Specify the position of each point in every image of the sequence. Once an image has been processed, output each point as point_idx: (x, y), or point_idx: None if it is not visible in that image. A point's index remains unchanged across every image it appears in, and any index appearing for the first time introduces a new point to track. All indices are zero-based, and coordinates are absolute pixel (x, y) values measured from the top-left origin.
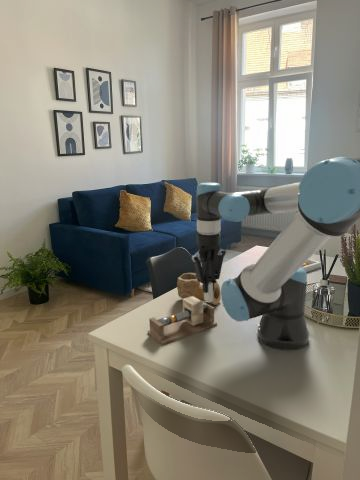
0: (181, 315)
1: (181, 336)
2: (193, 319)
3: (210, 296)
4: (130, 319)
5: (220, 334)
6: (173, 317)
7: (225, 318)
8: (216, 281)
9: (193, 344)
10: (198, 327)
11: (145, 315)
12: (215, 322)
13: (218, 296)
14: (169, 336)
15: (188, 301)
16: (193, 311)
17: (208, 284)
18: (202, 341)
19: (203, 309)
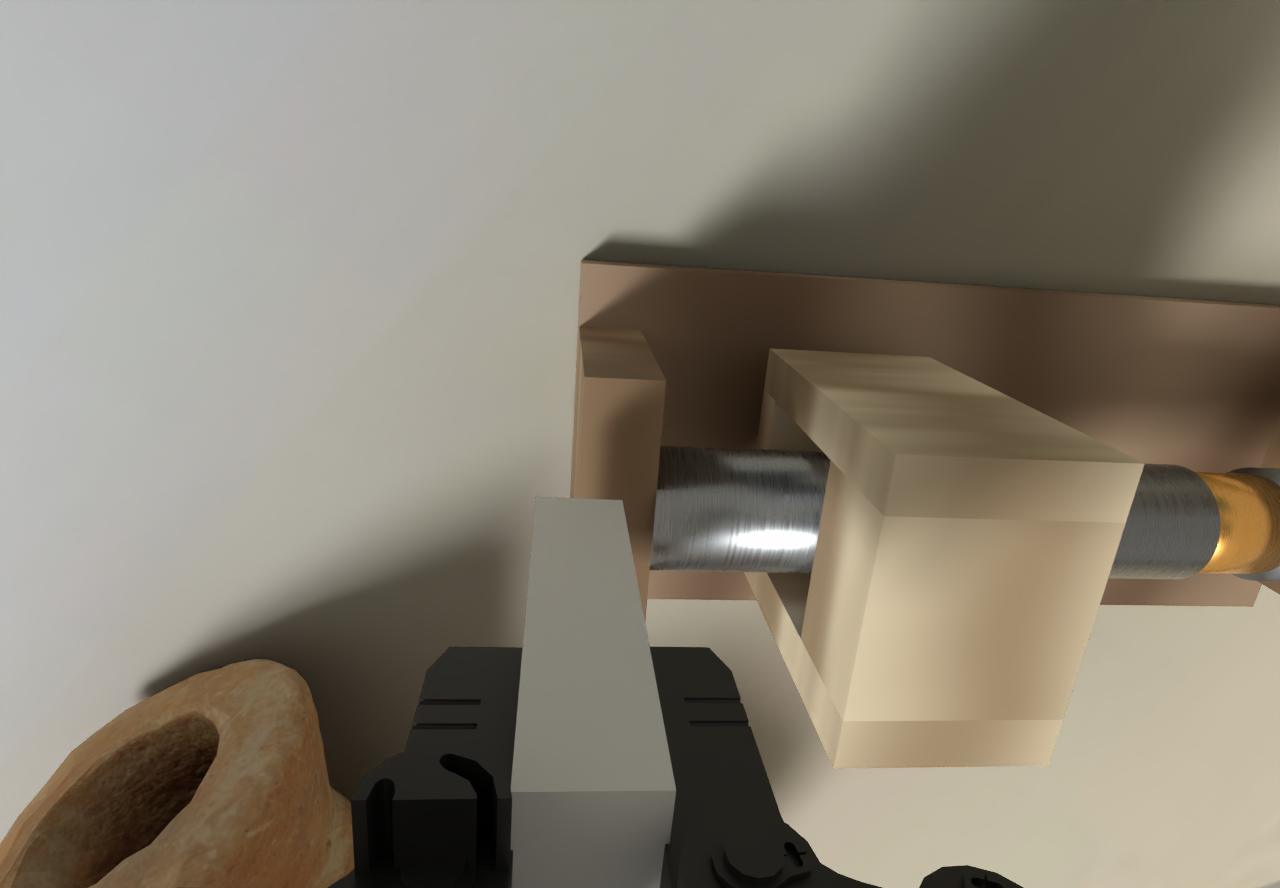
0: (1135, 494)
1: (1127, 297)
2: (971, 378)
3: (597, 552)
4: (1133, 865)
5: (722, 30)
6: (1254, 511)
7: (359, 326)
8: (369, 783)
9: (1135, 83)
10: (850, 326)
11: (993, 861)
12: (591, 285)
13: (112, 760)
14: (1222, 373)
15: (1069, 632)
16: (1047, 417)
17: (665, 803)
18: (1014, 60)
19: (729, 468)
